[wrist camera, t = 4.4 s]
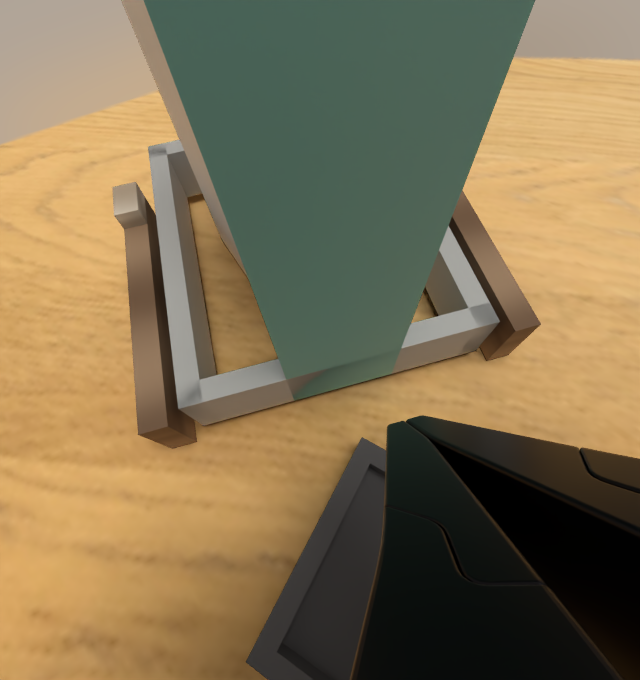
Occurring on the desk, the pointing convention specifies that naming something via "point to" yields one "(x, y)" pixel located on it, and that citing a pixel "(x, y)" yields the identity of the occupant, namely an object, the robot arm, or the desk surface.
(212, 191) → the milk carton
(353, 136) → the tray
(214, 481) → the desk surface
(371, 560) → the tray
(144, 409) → the channel
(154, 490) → the desk surface
